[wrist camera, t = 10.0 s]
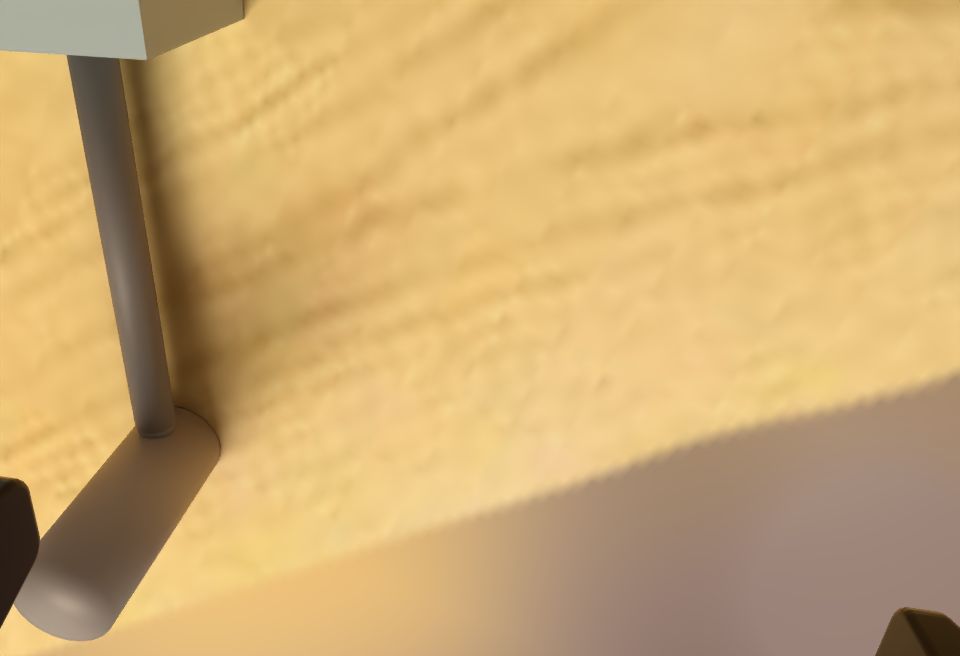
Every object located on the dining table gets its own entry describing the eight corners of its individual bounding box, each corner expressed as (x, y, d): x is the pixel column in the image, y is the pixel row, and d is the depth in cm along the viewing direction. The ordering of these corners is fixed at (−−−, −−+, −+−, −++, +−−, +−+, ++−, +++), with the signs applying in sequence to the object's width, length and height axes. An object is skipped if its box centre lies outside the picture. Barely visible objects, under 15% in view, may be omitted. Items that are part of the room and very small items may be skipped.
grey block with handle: (206, -401, 15) (-4, -545, 10) (285, 487, 24) (199, 657, 19) (-112, -406, 16) (-474, -546, 10) (85, 465, 25) (-53, 624, 20)
